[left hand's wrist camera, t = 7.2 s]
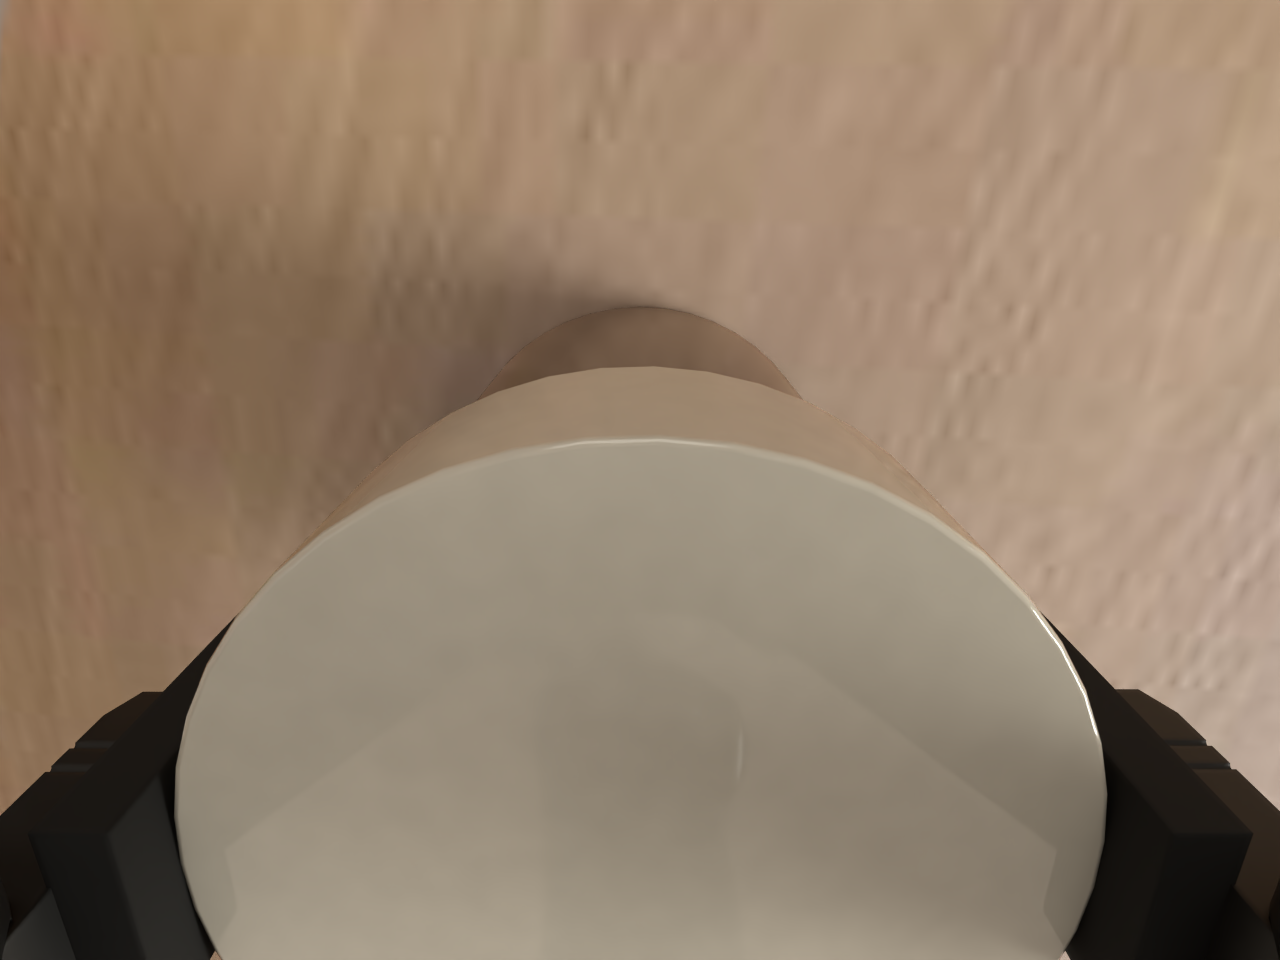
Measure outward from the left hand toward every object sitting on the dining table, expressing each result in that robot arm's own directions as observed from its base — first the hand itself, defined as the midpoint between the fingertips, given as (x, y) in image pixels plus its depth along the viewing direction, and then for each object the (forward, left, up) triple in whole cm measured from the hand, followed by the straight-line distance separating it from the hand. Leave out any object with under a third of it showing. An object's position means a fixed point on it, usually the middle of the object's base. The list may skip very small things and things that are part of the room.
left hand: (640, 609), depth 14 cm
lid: (0, 0, +3) cm, 3 cm away
